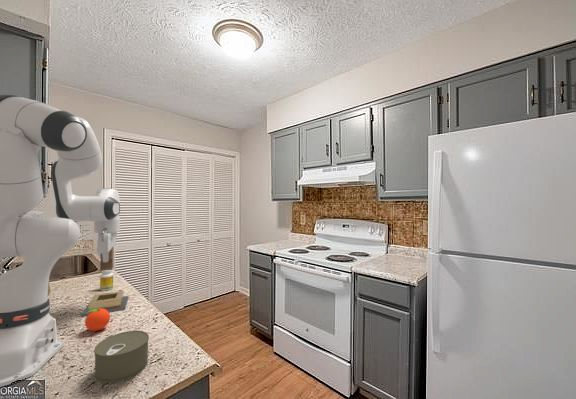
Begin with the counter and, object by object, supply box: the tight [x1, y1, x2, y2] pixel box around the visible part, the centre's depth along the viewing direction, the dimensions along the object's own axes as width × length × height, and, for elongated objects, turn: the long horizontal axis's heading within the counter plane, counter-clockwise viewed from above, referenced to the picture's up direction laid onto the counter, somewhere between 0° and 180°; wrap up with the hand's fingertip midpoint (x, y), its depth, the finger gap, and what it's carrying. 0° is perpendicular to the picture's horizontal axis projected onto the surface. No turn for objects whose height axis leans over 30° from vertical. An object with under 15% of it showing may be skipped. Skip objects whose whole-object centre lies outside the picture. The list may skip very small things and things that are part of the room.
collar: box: [81, 290, 130, 317], centre depth 107 cm, size 14×14×4 cm
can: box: [93, 330, 150, 385], centre depth 67 cm, size 12×12×7 cm
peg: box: [99, 246, 115, 272], centre depth 107 cm, size 4×4×9 cm
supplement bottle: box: [99, 269, 114, 292], centre depth 128 cm, size 5×5×10 cm
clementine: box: [84, 308, 111, 332], centre depth 87 cm, size 8×7×7 cm
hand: (107, 260), depth 107 cm, fingers closed on peg, 4 cm apart
